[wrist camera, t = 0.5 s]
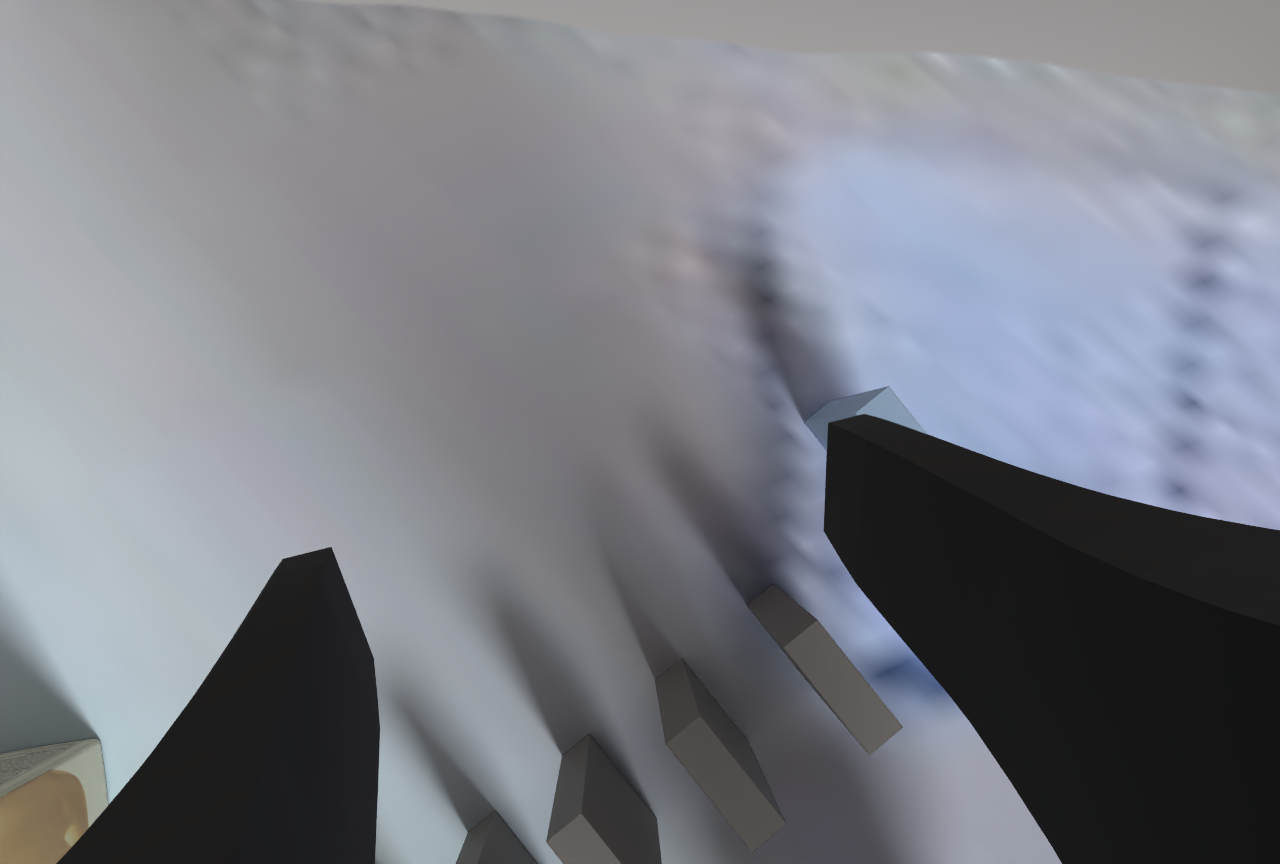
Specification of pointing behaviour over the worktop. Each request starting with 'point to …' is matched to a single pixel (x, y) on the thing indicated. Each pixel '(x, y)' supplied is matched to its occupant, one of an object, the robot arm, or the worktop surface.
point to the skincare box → (49, 799)
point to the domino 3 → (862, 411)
